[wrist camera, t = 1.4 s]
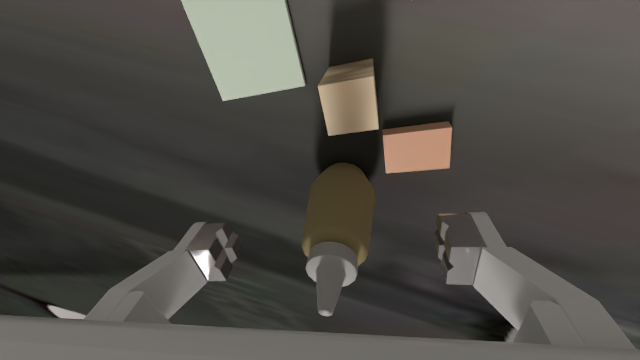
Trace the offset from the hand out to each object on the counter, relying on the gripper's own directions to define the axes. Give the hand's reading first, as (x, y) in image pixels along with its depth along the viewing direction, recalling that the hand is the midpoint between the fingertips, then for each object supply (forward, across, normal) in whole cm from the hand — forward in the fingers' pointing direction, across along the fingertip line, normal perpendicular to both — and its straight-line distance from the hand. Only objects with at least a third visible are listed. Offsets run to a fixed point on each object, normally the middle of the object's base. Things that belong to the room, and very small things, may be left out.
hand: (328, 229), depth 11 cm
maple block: (+22, 0, 0) cm, 22 cm away
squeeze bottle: (+22, +2, +12) cm, 25 cm away
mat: (+22, +10, -6) cm, 24 cm away
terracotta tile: (+22, -7, +8) cm, 24 cm away
